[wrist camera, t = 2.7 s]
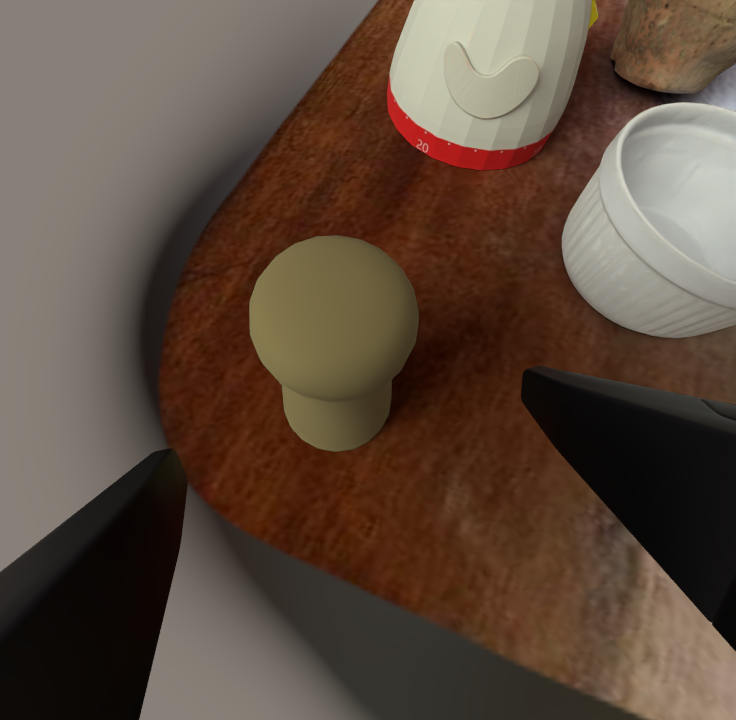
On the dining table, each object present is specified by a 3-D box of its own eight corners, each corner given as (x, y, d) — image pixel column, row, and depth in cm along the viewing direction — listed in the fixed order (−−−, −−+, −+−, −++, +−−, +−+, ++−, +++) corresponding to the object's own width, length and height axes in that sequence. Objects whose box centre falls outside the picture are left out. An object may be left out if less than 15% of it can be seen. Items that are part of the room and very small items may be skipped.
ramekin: (769, 312, 24) (928, 244, 18) (627, 390, 21) (754, 343, 15) (640, 177, 28) (731, 80, 21) (505, 226, 25) (563, 132, 19)
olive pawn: (264, 428, 19) (172, 348, 9) (308, 333, 21) (277, 178, 11) (371, 468, 18) (409, 434, 8) (404, 366, 21) (467, 239, 10)
